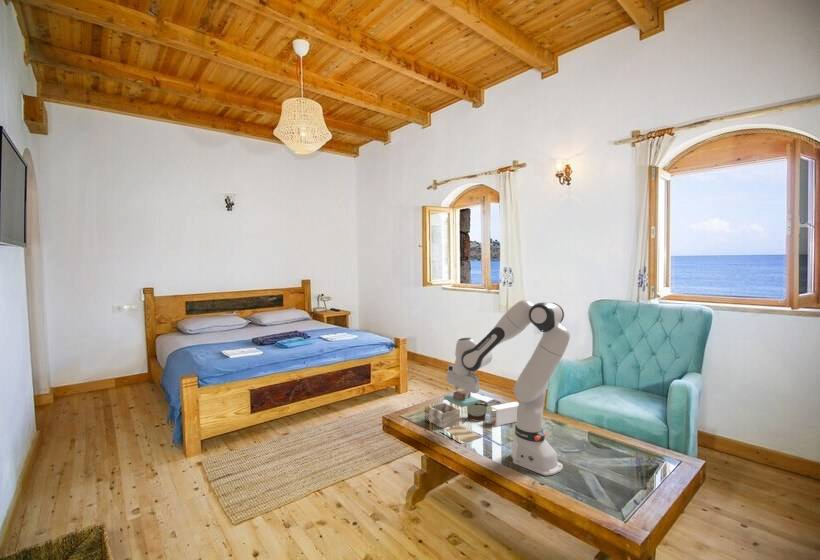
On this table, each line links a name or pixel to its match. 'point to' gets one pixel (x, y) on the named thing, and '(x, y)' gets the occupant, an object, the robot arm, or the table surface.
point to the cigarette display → (504, 414)
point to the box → (444, 415)
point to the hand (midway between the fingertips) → (461, 396)
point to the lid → (461, 399)
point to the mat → (463, 434)
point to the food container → (477, 411)
